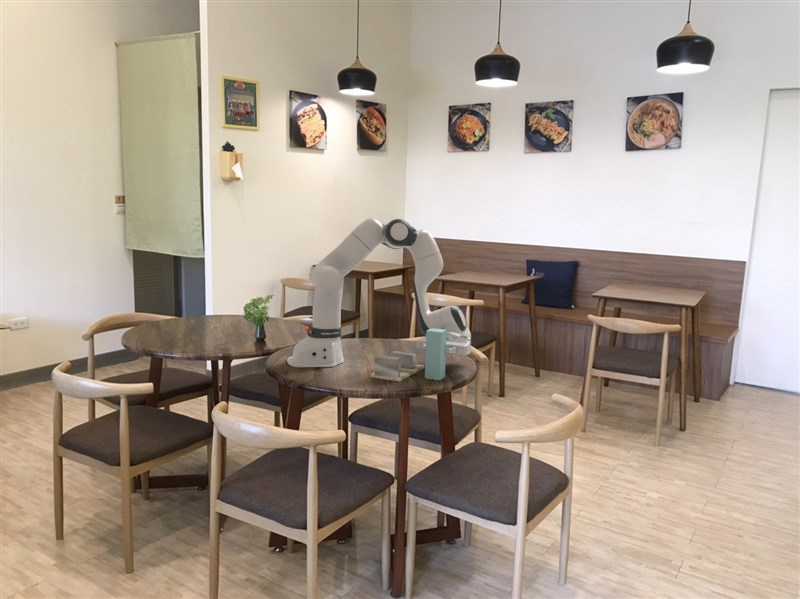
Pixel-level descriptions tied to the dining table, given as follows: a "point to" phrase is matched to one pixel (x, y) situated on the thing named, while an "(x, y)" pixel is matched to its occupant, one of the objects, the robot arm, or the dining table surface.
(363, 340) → the dining table surface
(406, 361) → the block
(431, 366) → the teal block
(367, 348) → the dining table surface
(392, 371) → the vise base
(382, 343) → the dining table surface
